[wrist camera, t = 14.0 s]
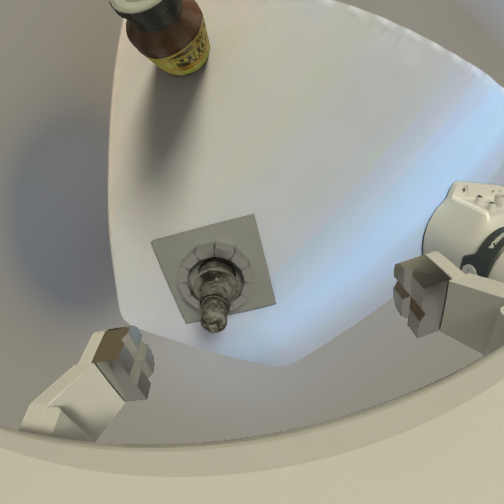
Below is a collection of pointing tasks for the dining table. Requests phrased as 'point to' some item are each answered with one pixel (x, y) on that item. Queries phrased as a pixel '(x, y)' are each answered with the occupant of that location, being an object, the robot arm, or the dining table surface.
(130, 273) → the dining table surface
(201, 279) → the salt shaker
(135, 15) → the sauce bottle
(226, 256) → the ring
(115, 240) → the dining table surface
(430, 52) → the dining table surface
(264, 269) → the board
